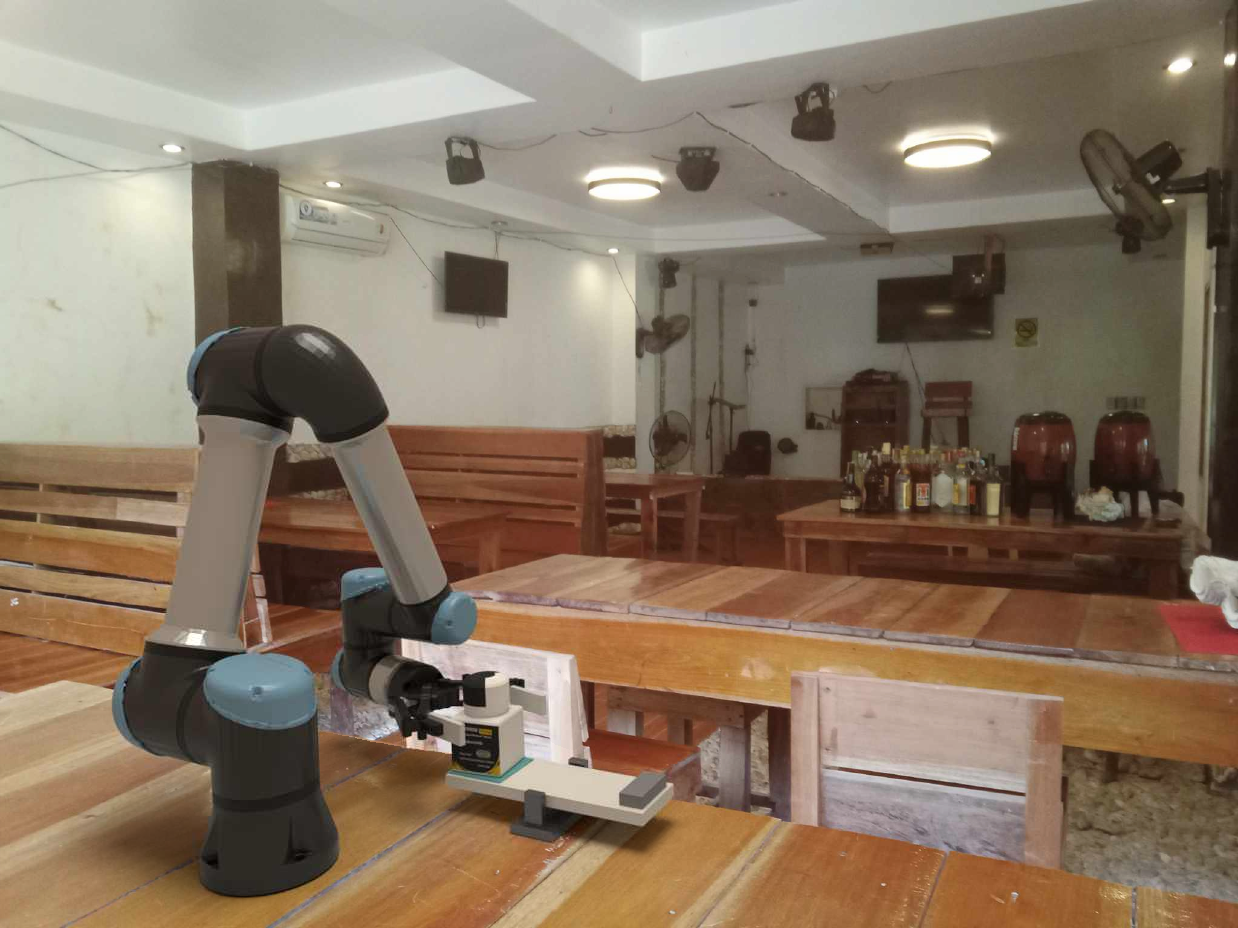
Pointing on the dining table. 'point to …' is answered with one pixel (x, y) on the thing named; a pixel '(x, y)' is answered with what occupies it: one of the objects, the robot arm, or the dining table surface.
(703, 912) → the dining table surface
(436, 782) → the dining table surface
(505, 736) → the medicine bottle
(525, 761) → the beam
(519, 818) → the fulcrum
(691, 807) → the dining table surface
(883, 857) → the dining table surface
